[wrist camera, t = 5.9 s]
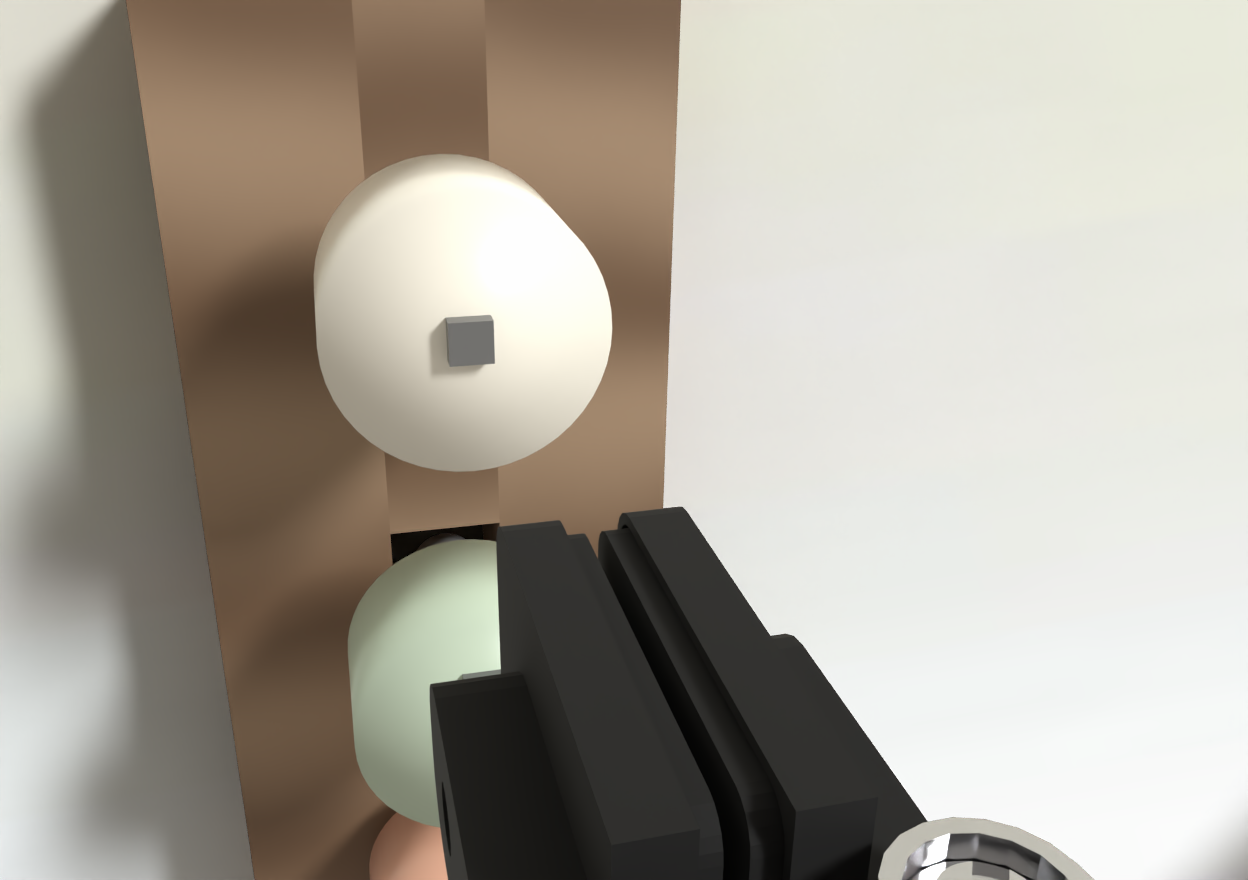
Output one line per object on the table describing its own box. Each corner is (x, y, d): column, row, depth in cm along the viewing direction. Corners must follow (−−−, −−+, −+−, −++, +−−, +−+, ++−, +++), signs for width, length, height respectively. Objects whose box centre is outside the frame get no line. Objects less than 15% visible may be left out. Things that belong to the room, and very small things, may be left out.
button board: (142, -32, 22) (122, -26, 20) (639, -27, 25) (681, -21, 22) (276, 927, 32) (274, 1017, 30) (620, 865, 35) (647, 943, 32)
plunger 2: (333, 479, 25) (345, 647, 19) (541, 460, 26) (612, 614, 20) (349, 657, 27) (364, 859, 21) (543, 632, 28) (608, 818, 22)
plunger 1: (300, 126, 22) (301, 199, 16) (537, 122, 23) (619, 188, 17) (321, 354, 24) (330, 492, 18) (540, 339, 25) (614, 465, 19)
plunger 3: (355, 711, 30) (370, 903, 24) (531, 687, 31) (587, 865, 25) (368, 848, 32) (385, 1058, 26) (534, 821, 33) (586, 1016, 27)
